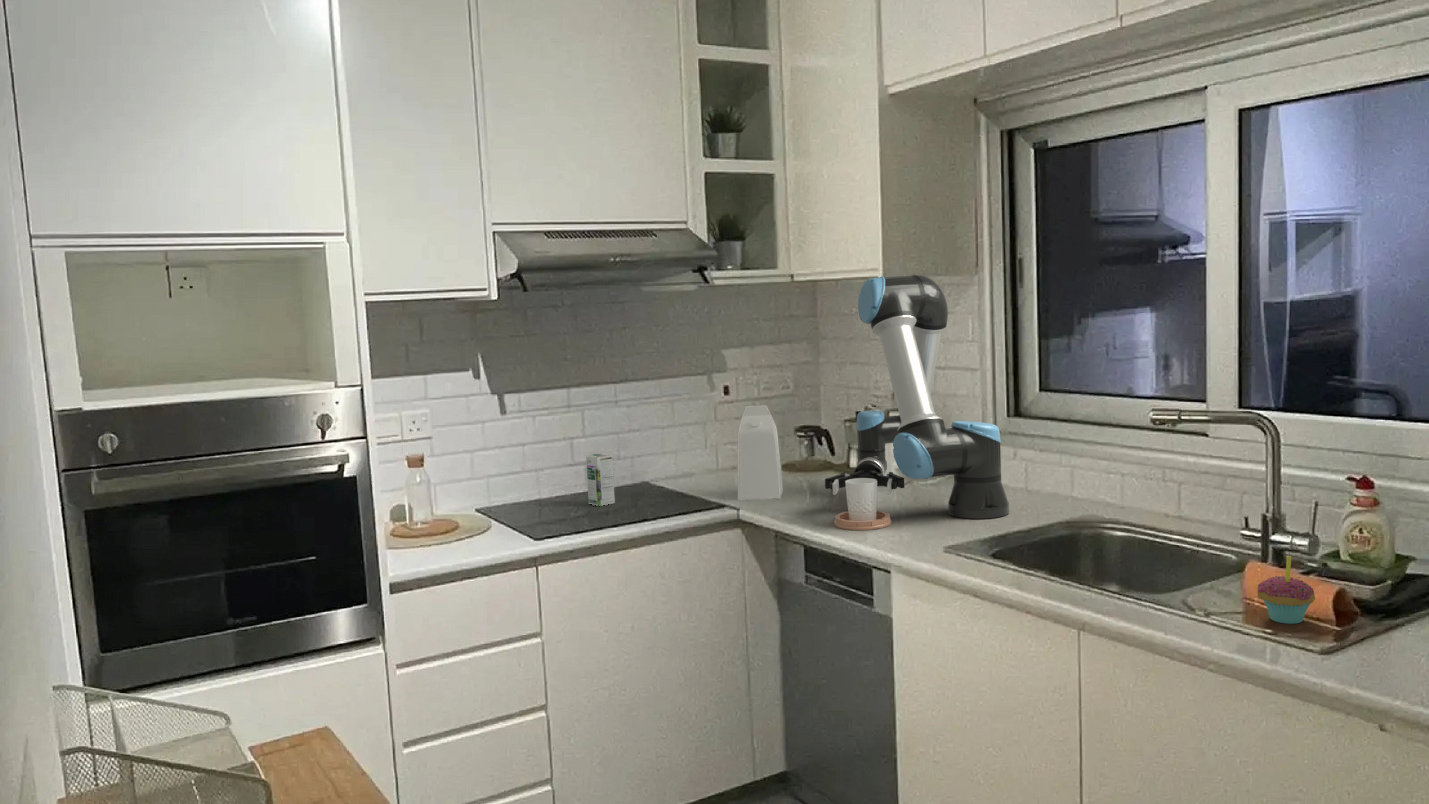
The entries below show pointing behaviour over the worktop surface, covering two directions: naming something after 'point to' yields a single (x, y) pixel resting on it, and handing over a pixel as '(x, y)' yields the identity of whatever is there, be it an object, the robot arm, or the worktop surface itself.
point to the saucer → (862, 522)
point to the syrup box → (600, 479)
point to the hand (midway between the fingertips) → (861, 489)
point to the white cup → (862, 499)
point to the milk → (758, 455)
